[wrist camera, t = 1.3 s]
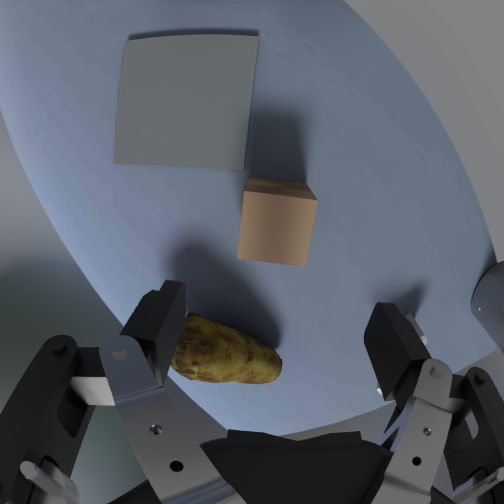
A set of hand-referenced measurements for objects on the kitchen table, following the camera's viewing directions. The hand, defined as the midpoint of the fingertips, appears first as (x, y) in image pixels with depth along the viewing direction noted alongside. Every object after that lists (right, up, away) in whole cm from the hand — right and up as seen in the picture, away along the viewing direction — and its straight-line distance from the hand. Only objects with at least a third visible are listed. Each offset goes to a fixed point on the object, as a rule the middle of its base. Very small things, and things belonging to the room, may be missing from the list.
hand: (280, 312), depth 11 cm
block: (+1, +6, +14) cm, 15 cm away
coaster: (-7, +16, +10) cm, 20 cm away
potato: (-4, -7, +20) cm, 22 cm away
